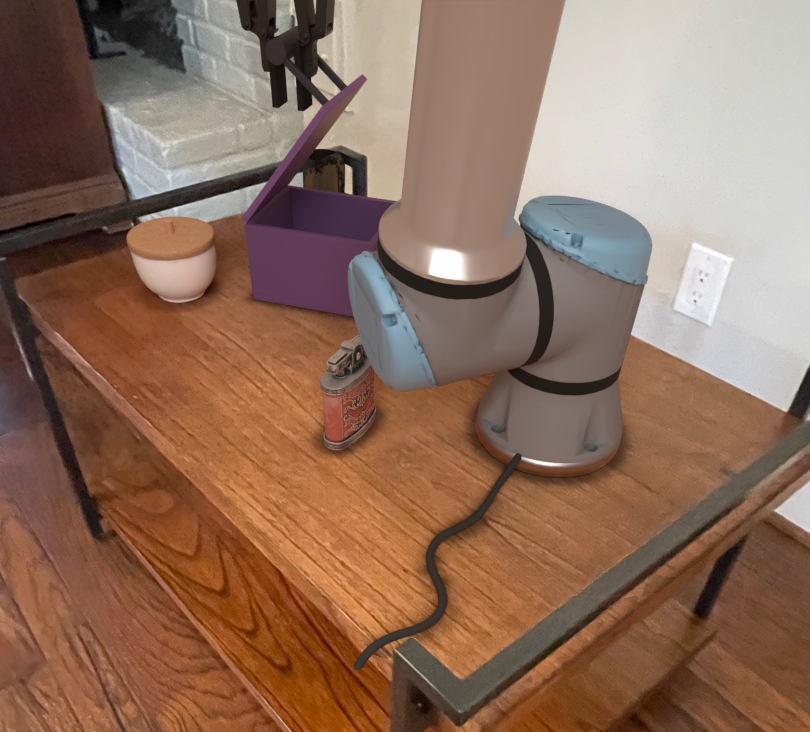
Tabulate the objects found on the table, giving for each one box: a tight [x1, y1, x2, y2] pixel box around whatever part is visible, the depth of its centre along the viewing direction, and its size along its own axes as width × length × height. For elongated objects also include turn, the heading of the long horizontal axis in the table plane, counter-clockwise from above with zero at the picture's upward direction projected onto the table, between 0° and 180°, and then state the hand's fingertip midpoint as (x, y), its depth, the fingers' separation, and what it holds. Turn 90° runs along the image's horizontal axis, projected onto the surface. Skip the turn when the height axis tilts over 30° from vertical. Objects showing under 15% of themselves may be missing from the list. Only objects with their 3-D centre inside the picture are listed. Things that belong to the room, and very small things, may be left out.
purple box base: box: [243, 184, 398, 318], centre depth 98 cm, size 17×14×10 cm
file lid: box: [241, 25, 368, 224], centre depth 89 cm, size 17×14×9 cm
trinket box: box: [126, 216, 218, 304], centre depth 96 cm, size 11×11×9 cm
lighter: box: [319, 334, 377, 451], centre depth 76 cm, size 8×3×10 cm, turn 152°
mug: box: [302, 148, 346, 194], centre depth 109 cm, size 8×6×12 cm
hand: (292, 105), depth 87 cm, fingers closed on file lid, 2 cm apart
